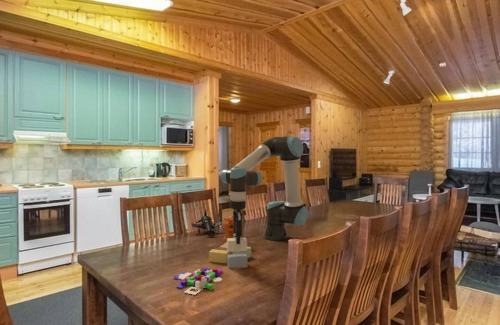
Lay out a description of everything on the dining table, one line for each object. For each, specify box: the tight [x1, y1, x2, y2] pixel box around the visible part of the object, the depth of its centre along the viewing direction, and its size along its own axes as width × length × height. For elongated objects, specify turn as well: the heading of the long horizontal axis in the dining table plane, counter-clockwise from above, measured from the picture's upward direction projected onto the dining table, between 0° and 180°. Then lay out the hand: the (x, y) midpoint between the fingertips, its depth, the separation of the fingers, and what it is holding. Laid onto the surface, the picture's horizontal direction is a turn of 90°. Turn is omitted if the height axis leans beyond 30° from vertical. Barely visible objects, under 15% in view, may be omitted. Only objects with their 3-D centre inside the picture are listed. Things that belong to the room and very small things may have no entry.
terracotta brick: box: [218, 242, 233, 255], centre depth 166 cm, size 9×4×5 cm, turn 160°
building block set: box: [173, 267, 223, 296], centre depth 132 cm, size 25×20×4 cm
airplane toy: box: [191, 209, 223, 236], centre depth 207 cm, size 20×19×15 cm
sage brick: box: [231, 245, 252, 259], centre depth 161 cm, size 9×4×5 cm, turn 134°
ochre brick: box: [208, 248, 229, 264], centre depth 156 cm, size 9×4×5 cm, turn 76°
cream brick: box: [227, 237, 248, 252], centre depth 149 cm, size 9×4×5 cm, turn 103°
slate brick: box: [226, 254, 248, 269], centre depth 149 cm, size 9×4×5 cm, turn 100°
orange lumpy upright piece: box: [221, 215, 235, 244], centre depth 182 cm, size 11×11×18 cm
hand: (237, 248), depth 149 cm, fingers closed on cream brick, 5 cm apart
